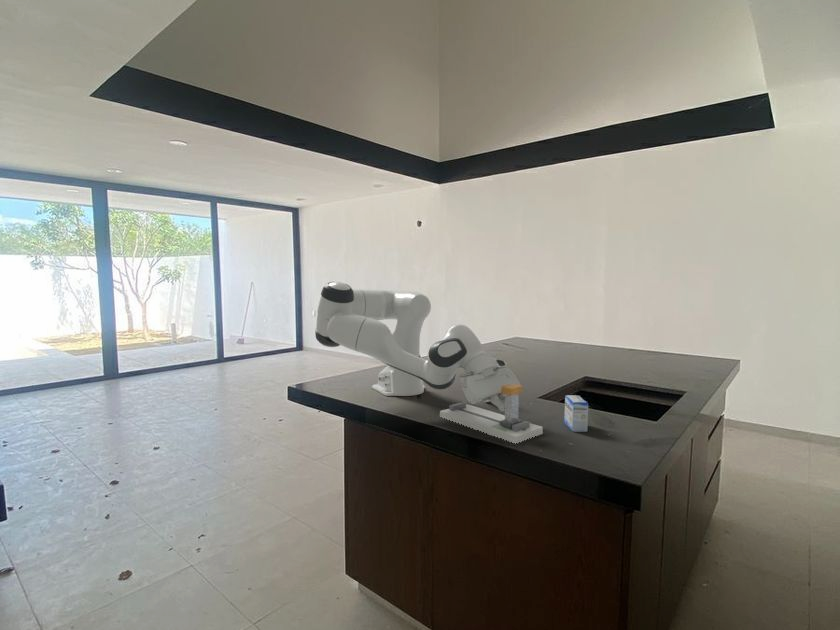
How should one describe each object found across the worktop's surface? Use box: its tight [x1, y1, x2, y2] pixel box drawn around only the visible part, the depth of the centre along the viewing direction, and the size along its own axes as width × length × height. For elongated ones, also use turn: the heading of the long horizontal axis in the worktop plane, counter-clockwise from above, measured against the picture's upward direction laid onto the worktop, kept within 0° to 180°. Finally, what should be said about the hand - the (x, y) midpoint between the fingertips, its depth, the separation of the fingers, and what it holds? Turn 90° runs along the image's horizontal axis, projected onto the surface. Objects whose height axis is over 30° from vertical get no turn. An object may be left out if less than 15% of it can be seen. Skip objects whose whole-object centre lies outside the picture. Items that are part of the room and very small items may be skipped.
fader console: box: [439, 401, 544, 445], centre depth 132 cm, size 30×12×4 cm, turn 40°
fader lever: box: [500, 384, 524, 429], centre depth 124 cm, size 4×6×11 cm
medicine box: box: [563, 394, 589, 433], centre depth 129 cm, size 8×4×9 cm, turn 178°
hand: (506, 409), depth 126 cm, fingers closed, pressing on fader lever
